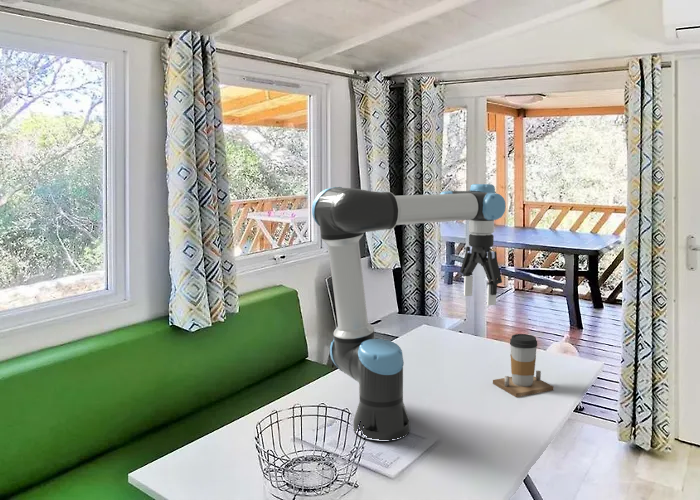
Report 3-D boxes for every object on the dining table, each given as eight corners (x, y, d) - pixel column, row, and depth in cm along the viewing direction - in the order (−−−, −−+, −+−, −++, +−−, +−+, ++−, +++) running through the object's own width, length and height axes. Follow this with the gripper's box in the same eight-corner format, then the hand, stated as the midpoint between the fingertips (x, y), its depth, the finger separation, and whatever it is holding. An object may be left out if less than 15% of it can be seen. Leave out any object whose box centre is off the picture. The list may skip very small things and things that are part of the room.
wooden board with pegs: (516, 397, 173) (516, 384, 172) (492, 383, 184) (492, 371, 184) (553, 390, 178) (553, 377, 177) (528, 377, 189) (528, 364, 188)
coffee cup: (537, 388, 176) (539, 341, 174) (509, 387, 178) (510, 340, 176) (534, 379, 184) (536, 333, 182) (507, 377, 186) (508, 332, 184)
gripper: (515, 237, 168) (512, 308, 171) (470, 229, 191) (468, 291, 194) (493, 238, 166) (491, 310, 169) (450, 230, 189) (449, 293, 192)
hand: (479, 300), depth 181 cm, fingers open, 13 cm apart
